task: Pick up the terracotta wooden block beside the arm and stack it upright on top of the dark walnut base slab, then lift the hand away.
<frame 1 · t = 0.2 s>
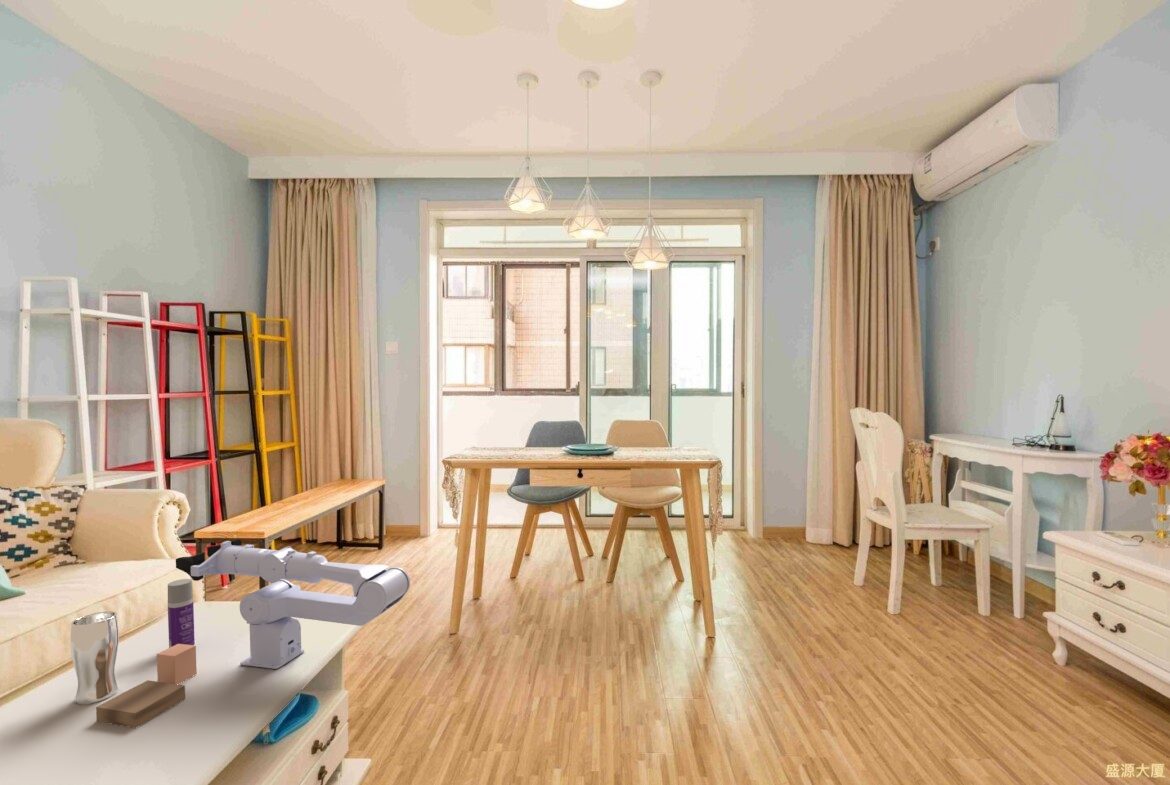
hand: (193, 557, 123), 21 cm above the table, tool horizontal, fingers open, 7 cm apart
walnut base: (142, 712, 101), on the table
terracotta block: (177, 679, 112), on the table
container: (182, 648, 125), on the table
beer glass: (97, 696, 106), on the table
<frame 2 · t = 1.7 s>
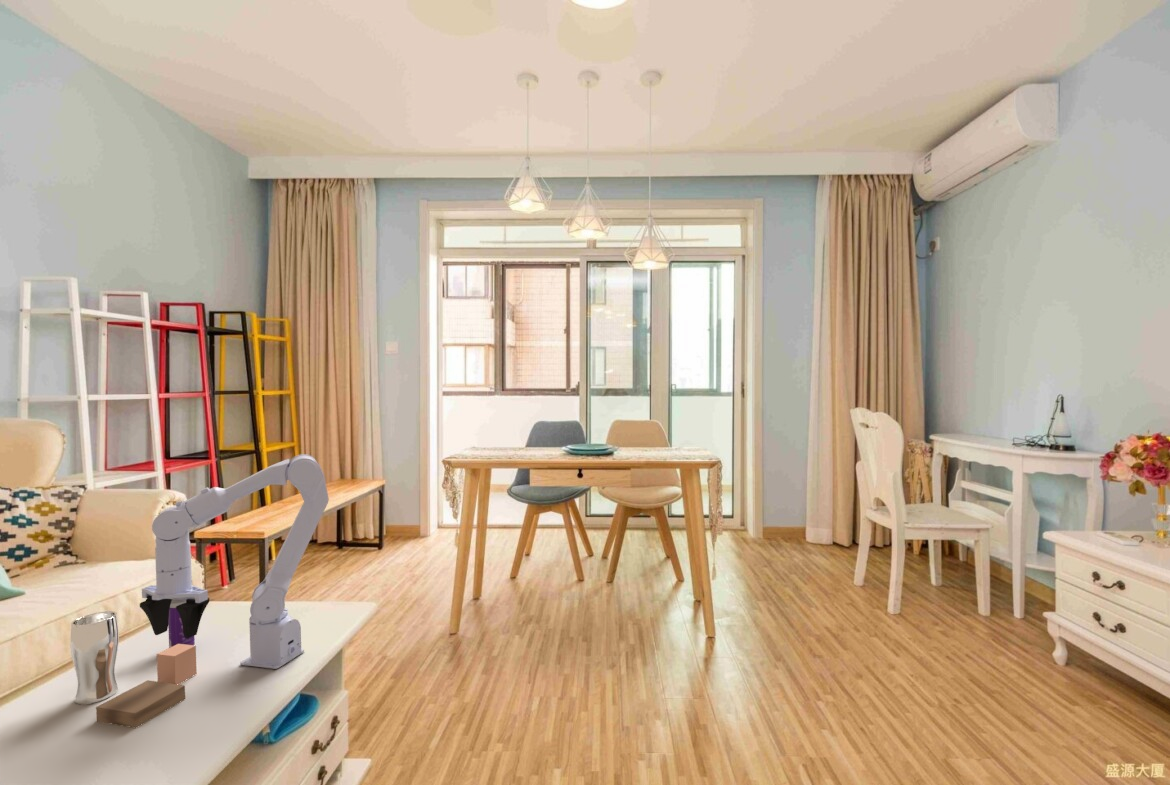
hand: (175, 634, 111), 9 cm above the table, tool pointing down, fingers open, 7 cm apart
nothing on the table moved.
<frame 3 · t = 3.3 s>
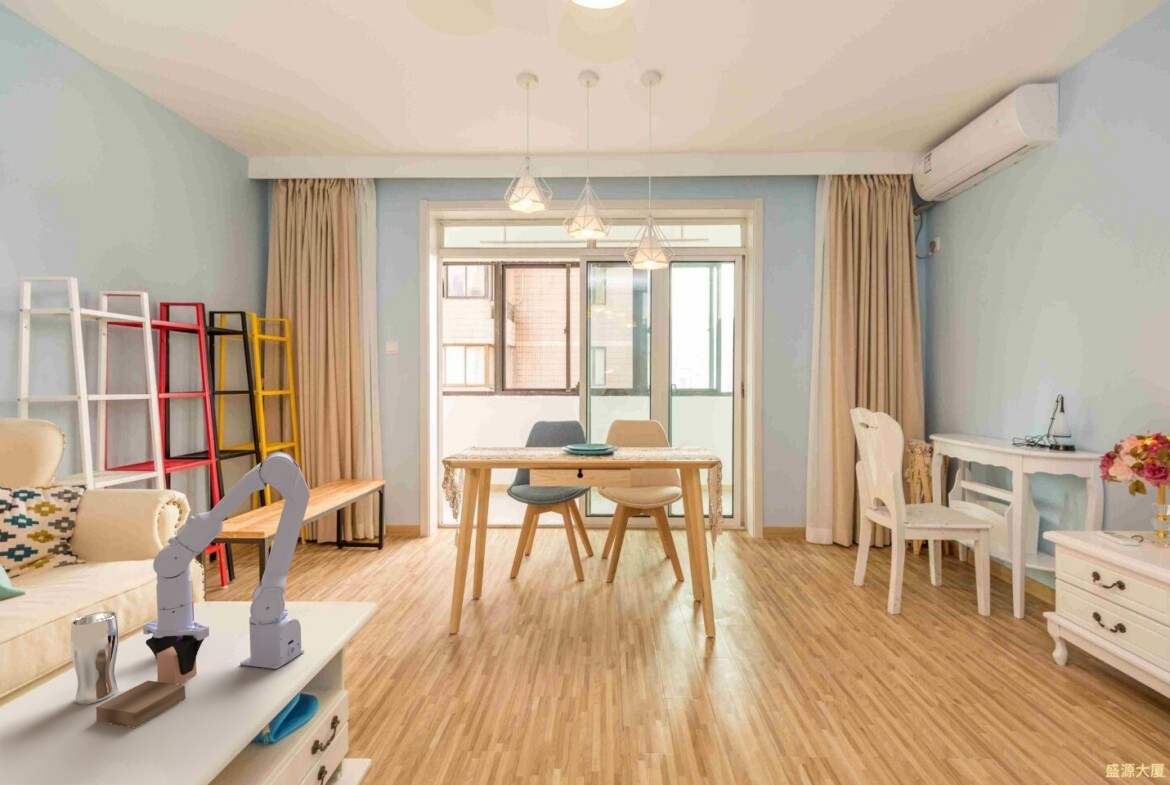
hand: (177, 671, 112), 2 cm above the table, tool pointing down, fingers closed on terracotta block, 4 cm apart
terracotta block: (177, 679, 112), on the table, touching gripper
everything else where it was.
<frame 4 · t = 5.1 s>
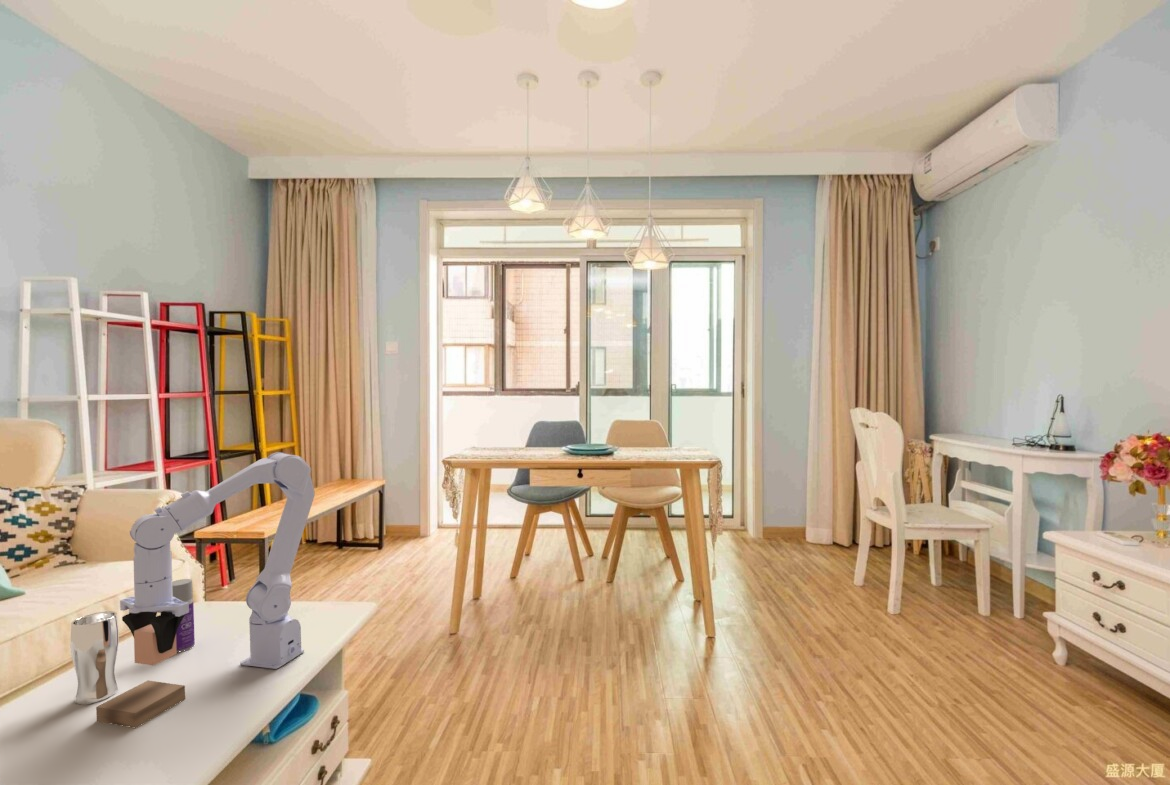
hand: (155, 649, 105), 9 cm above the table, tool pointing down, fingers closed on terracotta block, 4 cm apart
terracotta block: (155, 658, 105), point 7 cm above the table, touching gripper
everything else where it was.
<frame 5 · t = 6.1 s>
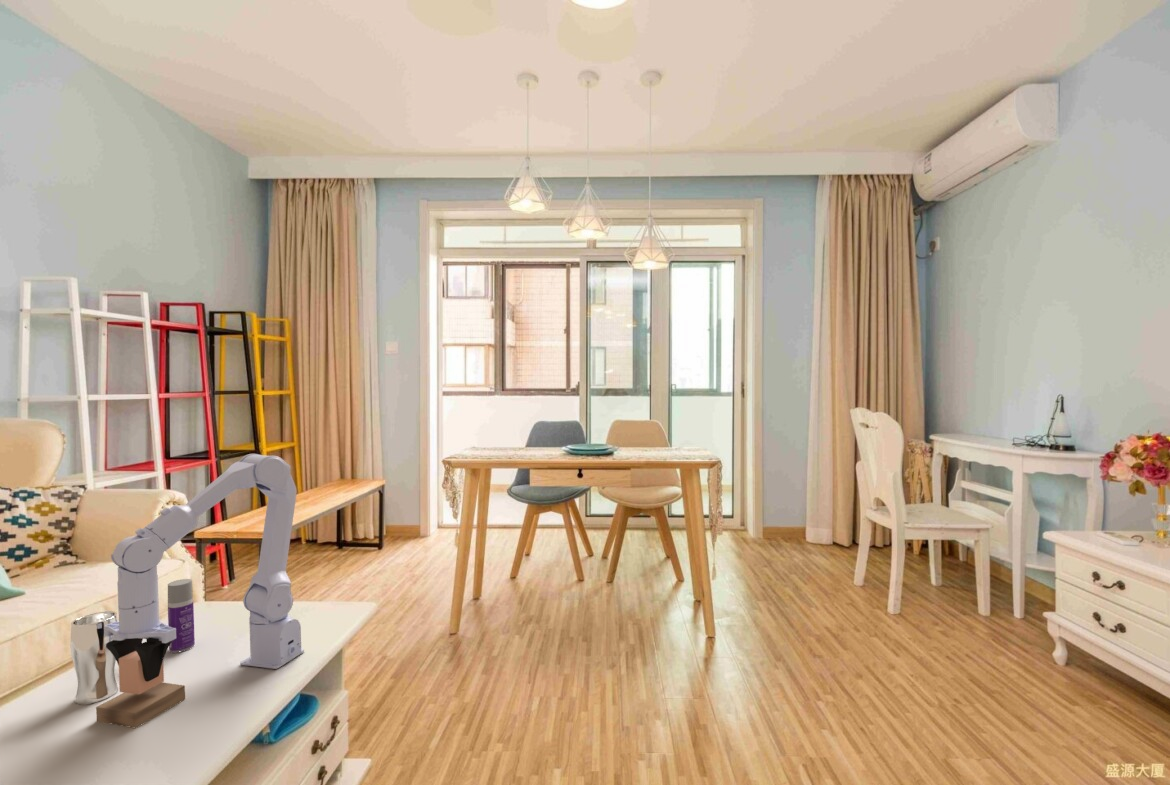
hand: (141, 677, 101), 6 cm above the table, tool pointing down, fingers closed on terracotta block, 4 cm apart
terracotta block: (142, 686, 101), point 4 cm above the table, touching gripper
everything else where it was.
when the fingers open (6 cm above the table, at t = 6.8 s): terracotta block drops 2 cm, resting on walnut base.
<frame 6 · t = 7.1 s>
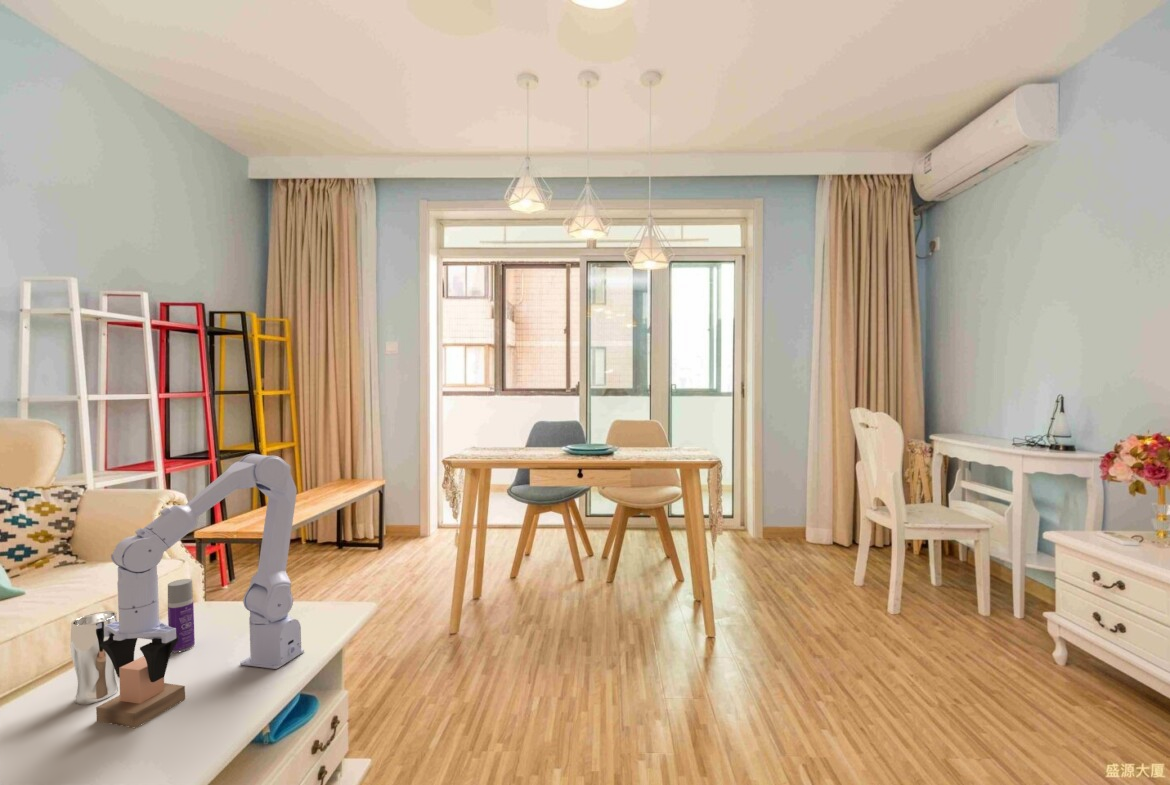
hand: (141, 677, 101), 6 cm above the table, tool pointing down, fingers open, 7 cm apart
walnut base: (142, 712, 101), on the table, touching terracotta block
terracotta block: (142, 695, 101), point 3 cm above the table, touching walnut base
everything else where it was.
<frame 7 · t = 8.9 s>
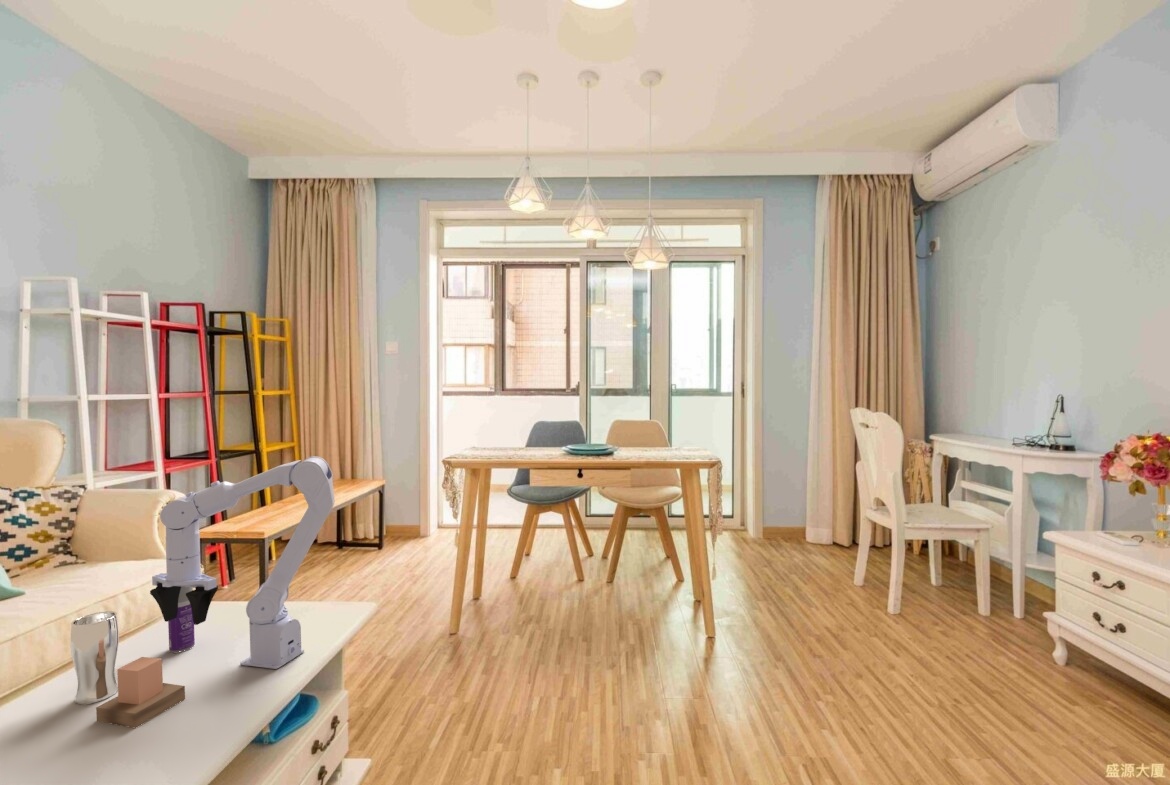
hand: (185, 621, 115), 10 cm above the table, tool pointing down, fingers open, 7 cm apart
nothing on the table moved.
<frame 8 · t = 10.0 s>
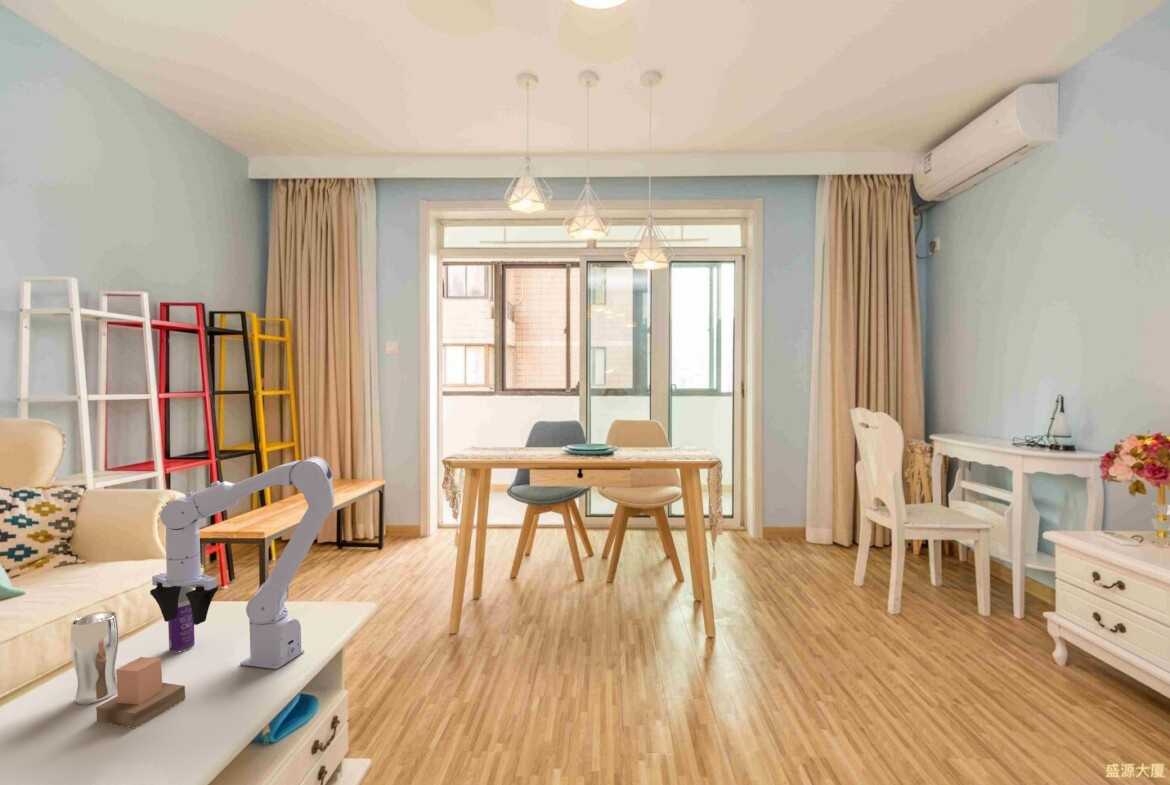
hand: (185, 621, 115), 10 cm above the table, tool pointing down, fingers open, 7 cm apart
nothing on the table moved.
at the end: terracotta block 0.0 cm off-centre on the walnut base, point 3.0 cm above the walnut base's base; terracotta block tilted 0°; the gripper is holding nothing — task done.
